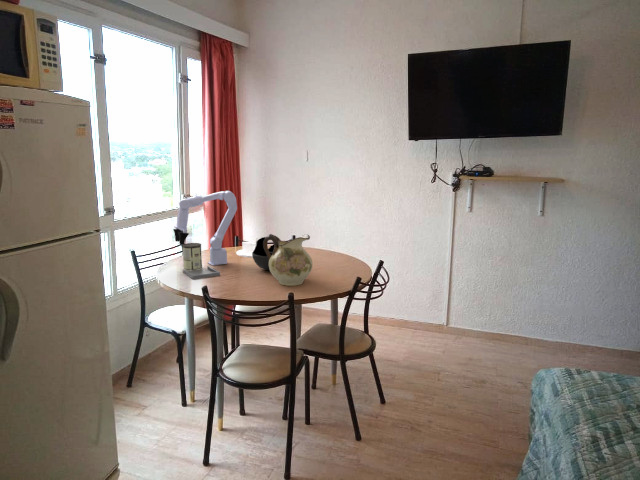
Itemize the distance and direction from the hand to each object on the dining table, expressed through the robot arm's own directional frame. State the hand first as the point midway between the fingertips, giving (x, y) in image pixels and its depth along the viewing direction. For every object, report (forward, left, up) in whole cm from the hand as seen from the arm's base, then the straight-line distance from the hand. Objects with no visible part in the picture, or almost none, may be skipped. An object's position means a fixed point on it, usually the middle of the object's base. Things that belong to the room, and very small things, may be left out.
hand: (179, 242), depth 264 cm
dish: (-52, -7, -14) cm, 55 cm away
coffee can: (-4, +11, -14) cm, 18 cm away
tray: (-4, +24, -14) cm, 28 cm away
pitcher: (-36, +64, -14) cm, 75 cm away
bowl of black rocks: (-40, +36, -14) cm, 55 cm away
